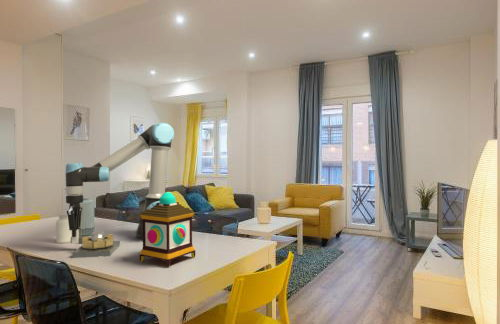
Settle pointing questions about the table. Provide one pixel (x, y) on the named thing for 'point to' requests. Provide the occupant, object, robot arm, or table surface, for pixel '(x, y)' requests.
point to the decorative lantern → (167, 230)
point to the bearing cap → (97, 251)
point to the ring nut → (95, 242)
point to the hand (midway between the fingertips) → (75, 243)
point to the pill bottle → (63, 229)
